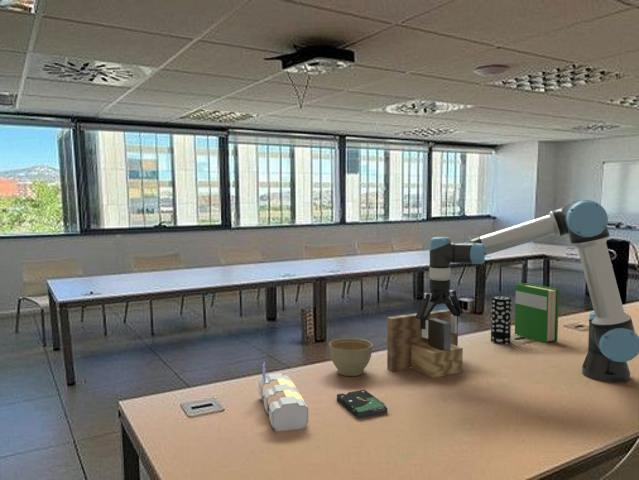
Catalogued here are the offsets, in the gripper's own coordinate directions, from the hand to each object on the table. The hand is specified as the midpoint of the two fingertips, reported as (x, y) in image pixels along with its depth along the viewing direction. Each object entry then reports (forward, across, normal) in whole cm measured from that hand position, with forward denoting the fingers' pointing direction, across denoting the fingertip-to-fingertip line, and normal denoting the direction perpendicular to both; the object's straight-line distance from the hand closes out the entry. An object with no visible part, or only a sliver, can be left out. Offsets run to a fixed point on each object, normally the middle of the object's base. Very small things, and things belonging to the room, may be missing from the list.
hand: (439, 335), depth 183 cm
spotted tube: (+14, -50, -17) cm, 55 cm away
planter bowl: (+14, +30, -14) cm, 36 cm away
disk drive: (+14, +43, +14) cm, 47 cm away
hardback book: (+14, -69, -14) cm, 72 cm away
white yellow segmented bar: (+14, +66, +6) cm, 68 cm away
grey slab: (+11, 0, 0) cm, 11 cm away
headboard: (+14, 0, -3) cm, 14 cm away
